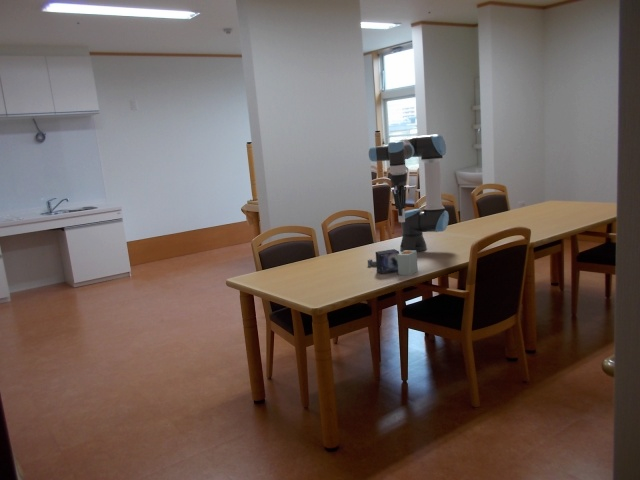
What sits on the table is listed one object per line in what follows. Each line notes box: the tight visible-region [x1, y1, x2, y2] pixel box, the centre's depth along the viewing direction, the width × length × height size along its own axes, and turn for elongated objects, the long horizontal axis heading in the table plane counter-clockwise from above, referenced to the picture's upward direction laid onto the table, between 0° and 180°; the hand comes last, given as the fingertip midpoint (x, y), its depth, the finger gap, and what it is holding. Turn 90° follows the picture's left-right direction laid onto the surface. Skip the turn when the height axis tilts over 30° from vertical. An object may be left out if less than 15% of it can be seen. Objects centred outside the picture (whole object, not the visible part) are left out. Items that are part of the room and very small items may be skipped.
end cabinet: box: [397, 250, 419, 276], centre depth 266 cm, size 10×6×10 cm, turn 149°
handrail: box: [367, 258, 376, 267], centre depth 283 cm, size 2×23×3 cm, turn 59°
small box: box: [375, 248, 400, 275], centre depth 272 cm, size 11×6×10 cm, turn 105°
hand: (401, 221), depth 267 cm, fingers closed
